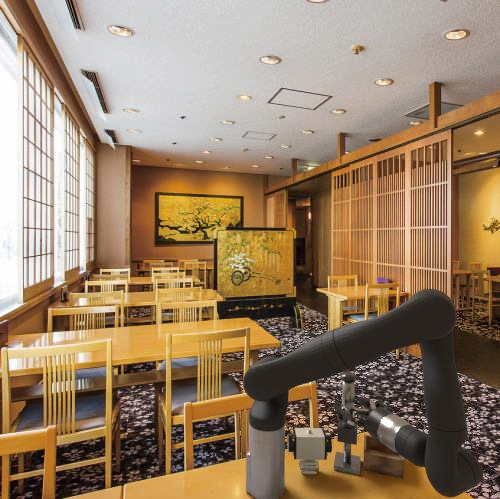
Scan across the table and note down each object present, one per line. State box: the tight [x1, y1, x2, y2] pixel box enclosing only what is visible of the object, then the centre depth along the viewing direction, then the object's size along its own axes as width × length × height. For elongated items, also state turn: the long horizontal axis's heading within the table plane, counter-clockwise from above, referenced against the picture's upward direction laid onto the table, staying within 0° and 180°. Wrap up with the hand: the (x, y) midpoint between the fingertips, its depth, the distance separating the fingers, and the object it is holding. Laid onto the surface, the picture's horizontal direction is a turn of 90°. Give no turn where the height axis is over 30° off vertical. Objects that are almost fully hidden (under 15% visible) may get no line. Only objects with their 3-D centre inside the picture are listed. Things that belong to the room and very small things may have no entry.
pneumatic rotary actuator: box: [286, 426, 333, 476], centre depth 97 cm, size 6×12×12 cm, turn 89°
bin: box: [363, 434, 405, 480], centre depth 101 cm, size 10×10×5 cm
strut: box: [336, 371, 359, 446], centre depth 100 cm, size 5×5×18 cm
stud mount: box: [333, 443, 362, 476], centre depth 100 cm, size 7×7×11 cm
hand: (347, 402), depth 100 cm, fingers open, 8 cm apart
